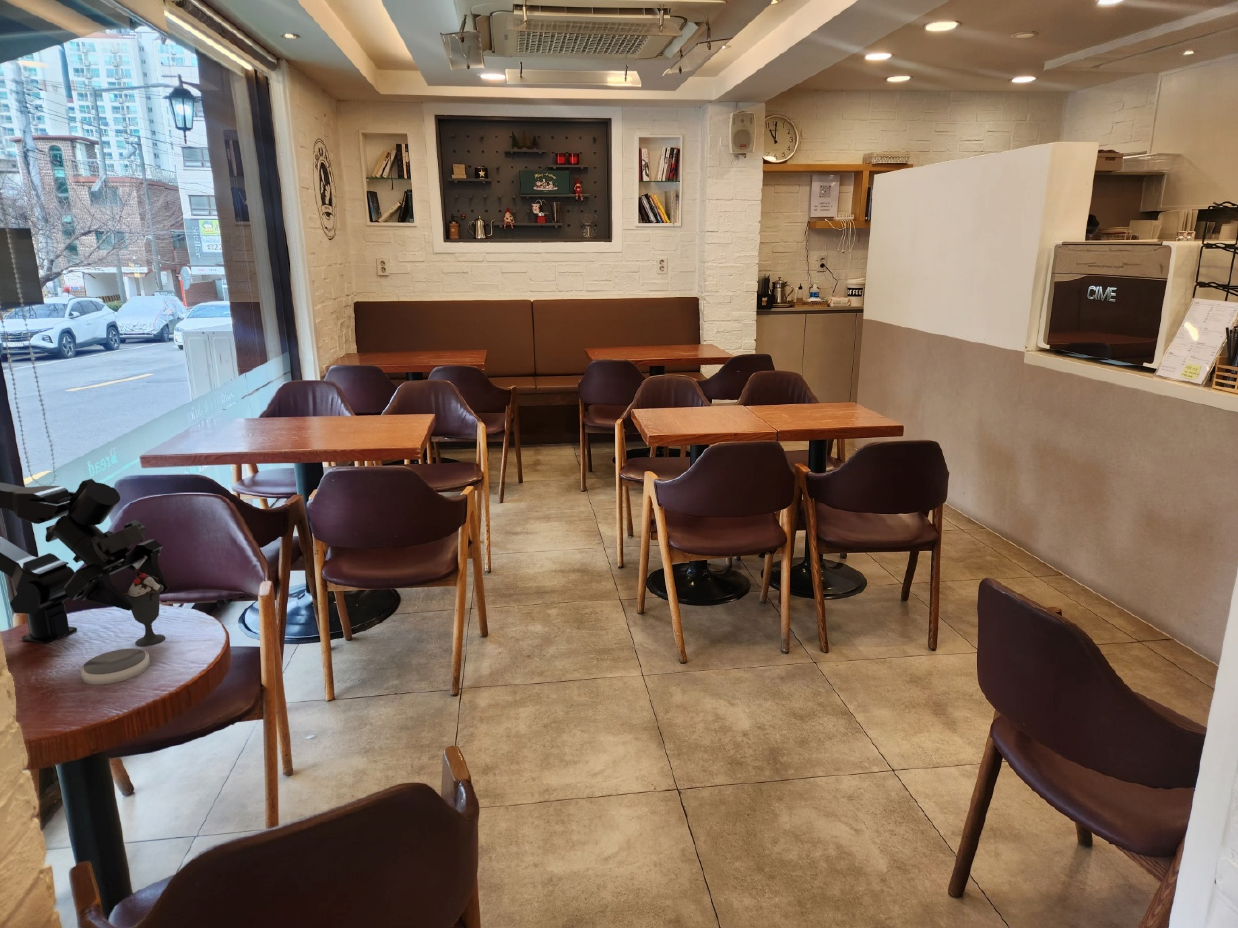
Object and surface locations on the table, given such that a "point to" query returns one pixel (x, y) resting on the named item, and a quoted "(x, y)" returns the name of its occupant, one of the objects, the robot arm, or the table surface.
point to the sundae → (145, 606)
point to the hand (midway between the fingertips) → (149, 599)
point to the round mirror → (115, 666)
